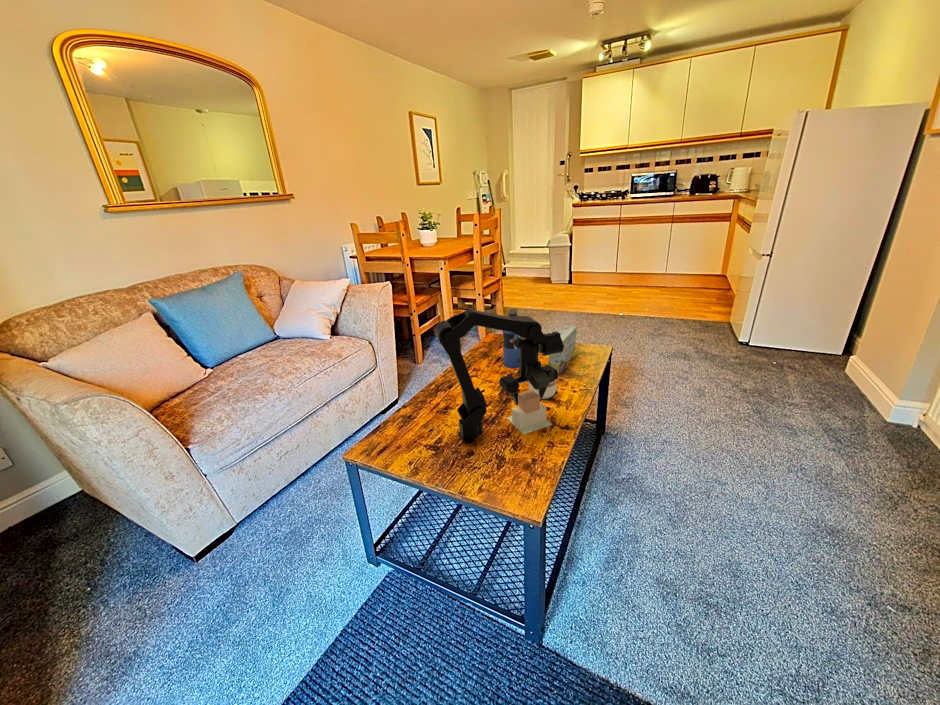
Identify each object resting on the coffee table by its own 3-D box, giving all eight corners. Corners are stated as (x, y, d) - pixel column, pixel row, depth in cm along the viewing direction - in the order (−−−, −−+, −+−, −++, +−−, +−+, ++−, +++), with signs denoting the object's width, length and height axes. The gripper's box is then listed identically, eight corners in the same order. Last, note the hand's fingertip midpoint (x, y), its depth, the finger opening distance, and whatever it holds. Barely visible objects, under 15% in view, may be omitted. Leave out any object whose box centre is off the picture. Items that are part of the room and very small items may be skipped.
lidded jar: (558, 390, 150) (558, 368, 146) (556, 404, 141) (556, 381, 137) (530, 388, 153) (530, 366, 149) (526, 402, 143) (526, 379, 140)
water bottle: (499, 362, 176) (497, 308, 166) (517, 357, 180) (516, 305, 170) (509, 370, 168) (508, 314, 158) (528, 365, 172) (528, 310, 162)
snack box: (560, 377, 160) (561, 342, 154) (547, 374, 163) (548, 340, 157) (575, 357, 177) (577, 325, 171) (563, 355, 179) (564, 324, 173)
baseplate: (523, 436, 124) (523, 434, 124) (506, 420, 133) (506, 417, 133) (552, 427, 128) (552, 424, 128) (534, 411, 137) (534, 409, 137)
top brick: (526, 413, 125) (526, 400, 123) (518, 406, 129) (518, 393, 128) (539, 409, 127) (540, 396, 125) (531, 402, 131) (531, 389, 129)
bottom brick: (519, 429, 126) (519, 415, 124) (512, 421, 131) (511, 408, 129) (546, 420, 130) (546, 407, 128) (537, 413, 134) (537, 400, 132)
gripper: (516, 374, 111) (516, 421, 117) (570, 360, 118) (568, 405, 124) (497, 360, 120) (499, 404, 127) (548, 348, 127) (547, 390, 133)
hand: (528, 401), depth 127 cm, fingers open, 9 cm apart
